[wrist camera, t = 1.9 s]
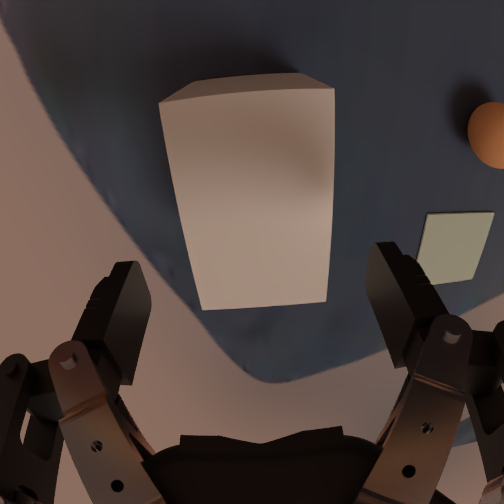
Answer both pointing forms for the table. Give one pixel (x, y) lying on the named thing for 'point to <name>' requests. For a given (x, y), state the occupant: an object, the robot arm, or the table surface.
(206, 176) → the tan block
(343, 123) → the table surface
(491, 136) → the ball
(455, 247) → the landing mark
